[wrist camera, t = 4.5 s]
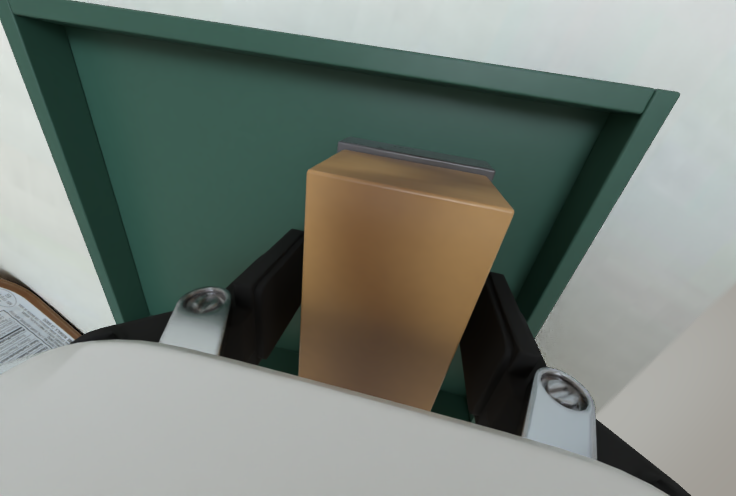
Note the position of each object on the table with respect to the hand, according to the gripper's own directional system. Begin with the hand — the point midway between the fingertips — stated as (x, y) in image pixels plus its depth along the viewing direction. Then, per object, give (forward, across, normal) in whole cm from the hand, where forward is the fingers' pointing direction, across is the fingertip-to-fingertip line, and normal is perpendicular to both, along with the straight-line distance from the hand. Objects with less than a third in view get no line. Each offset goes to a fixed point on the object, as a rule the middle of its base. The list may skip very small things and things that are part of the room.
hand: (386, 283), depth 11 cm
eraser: (+1, 0, 0) cm, 1 cm away
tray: (+2, +4, 0) cm, 4 cm away
